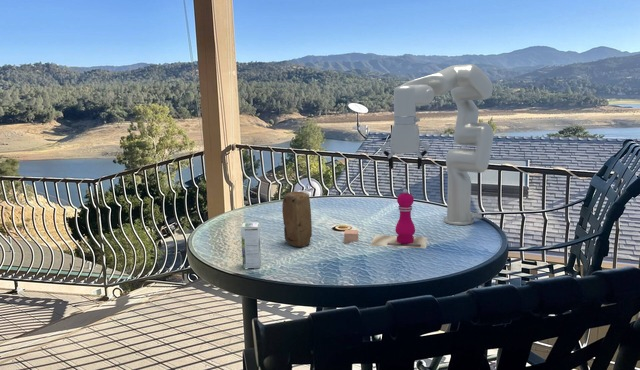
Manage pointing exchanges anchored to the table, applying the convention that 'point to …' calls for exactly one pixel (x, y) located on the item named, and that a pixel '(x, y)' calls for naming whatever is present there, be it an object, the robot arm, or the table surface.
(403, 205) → the pepper mill
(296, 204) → the block
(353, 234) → the block
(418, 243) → the board
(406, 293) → the table surface
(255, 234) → the syrup box
